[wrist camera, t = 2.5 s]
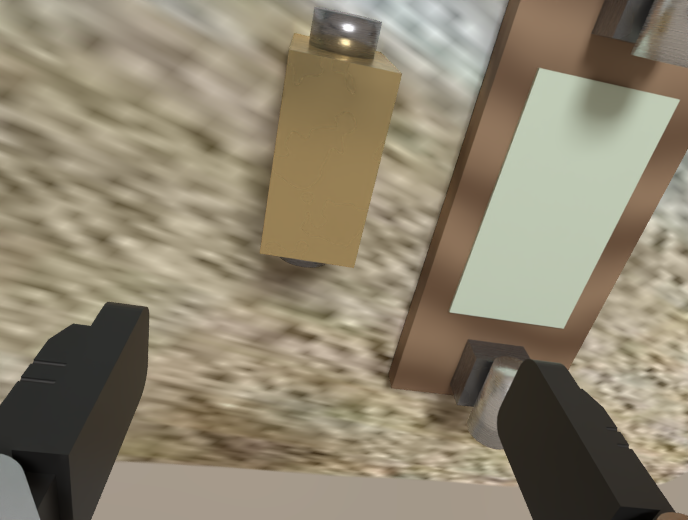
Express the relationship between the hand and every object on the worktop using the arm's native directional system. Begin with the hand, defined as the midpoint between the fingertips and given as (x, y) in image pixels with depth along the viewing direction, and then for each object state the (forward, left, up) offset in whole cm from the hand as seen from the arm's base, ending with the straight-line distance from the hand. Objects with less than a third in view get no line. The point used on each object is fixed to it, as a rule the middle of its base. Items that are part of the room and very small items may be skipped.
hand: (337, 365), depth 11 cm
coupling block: (0, 0, -20) cm, 20 cm away
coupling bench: (+2, +14, -19) cm, 24 cm away
